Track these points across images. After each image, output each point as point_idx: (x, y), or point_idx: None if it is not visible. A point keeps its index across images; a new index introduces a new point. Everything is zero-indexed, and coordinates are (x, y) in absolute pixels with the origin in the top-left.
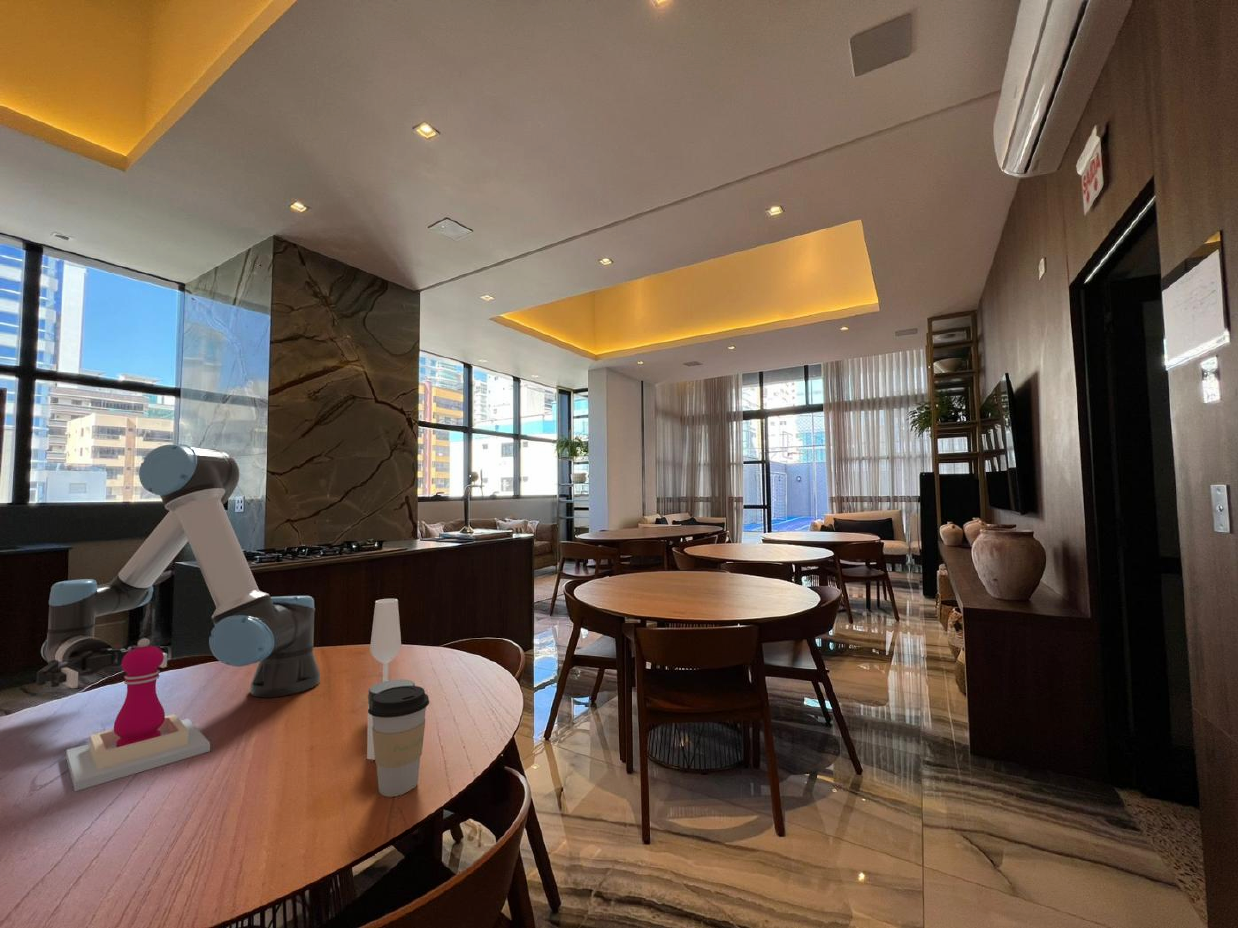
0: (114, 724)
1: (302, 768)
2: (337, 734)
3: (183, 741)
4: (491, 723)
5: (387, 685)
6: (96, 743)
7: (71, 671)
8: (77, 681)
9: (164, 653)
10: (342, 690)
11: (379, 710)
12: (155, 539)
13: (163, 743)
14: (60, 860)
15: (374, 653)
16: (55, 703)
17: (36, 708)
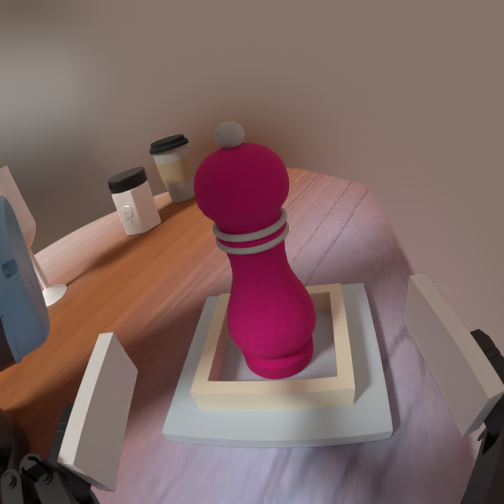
0: (314, 309)
1: (191, 231)
2: (125, 266)
3: None
4: (87, 229)
5: (124, 175)
6: (343, 329)
7: (440, 303)
8: (406, 305)
9: (97, 348)
10: (3, 371)
11: (186, 138)
12: None
13: None
14: (355, 207)
15: (34, 227)
16: None
17: None
